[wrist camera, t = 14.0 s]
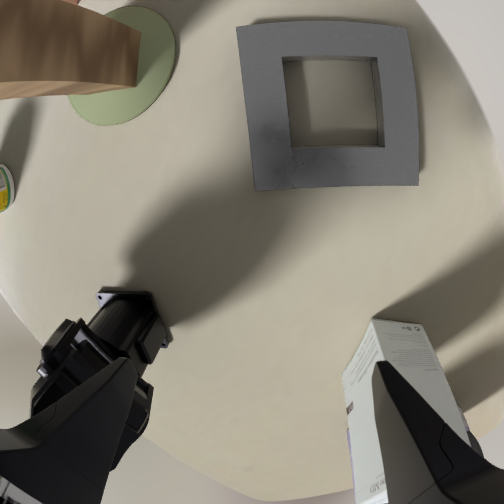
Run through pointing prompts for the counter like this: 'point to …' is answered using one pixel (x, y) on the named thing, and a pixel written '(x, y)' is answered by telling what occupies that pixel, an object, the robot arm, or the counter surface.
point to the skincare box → (361, 397)
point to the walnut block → (63, 50)
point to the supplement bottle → (6, 188)
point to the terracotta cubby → (72, 1)
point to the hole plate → (337, 156)
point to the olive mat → (148, 73)
